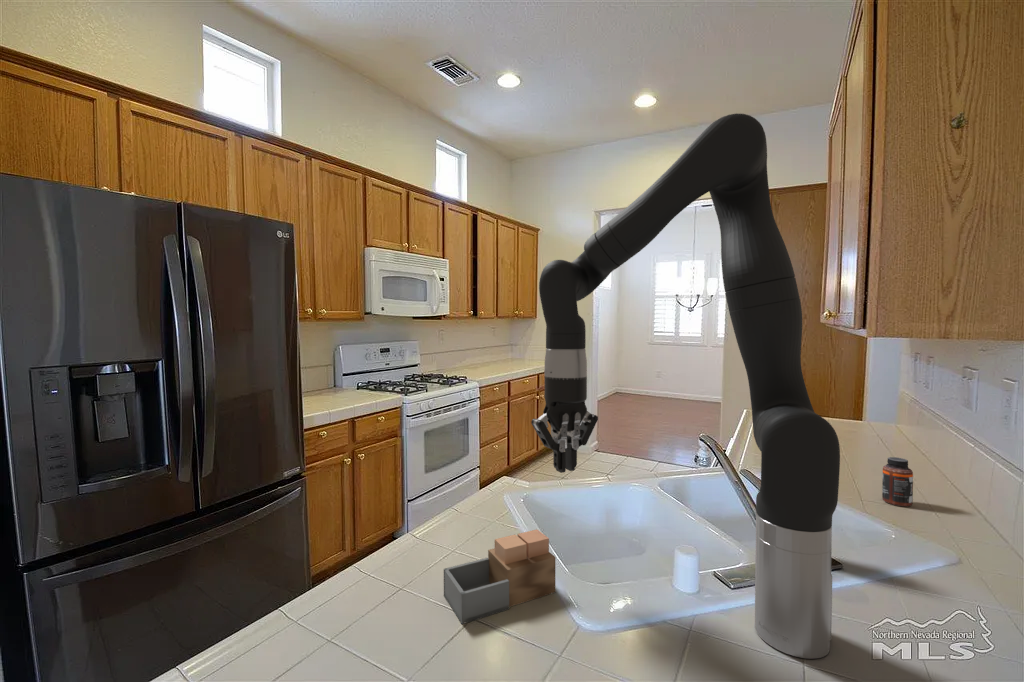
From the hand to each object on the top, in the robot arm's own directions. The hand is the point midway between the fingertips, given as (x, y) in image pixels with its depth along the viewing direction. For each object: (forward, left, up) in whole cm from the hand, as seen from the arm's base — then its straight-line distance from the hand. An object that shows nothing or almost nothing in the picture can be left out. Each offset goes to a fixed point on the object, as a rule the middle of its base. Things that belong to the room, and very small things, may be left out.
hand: (565, 470), depth 81 cm
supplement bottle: (-95, +11, -19) cm, 97 cm away
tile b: (+11, 0, -13) cm, 17 cm away
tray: (+17, 0, -19) cm, 26 cm away
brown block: (+9, 0, -19) cm, 21 cm away
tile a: (+7, 0, -13) cm, 15 cm away
